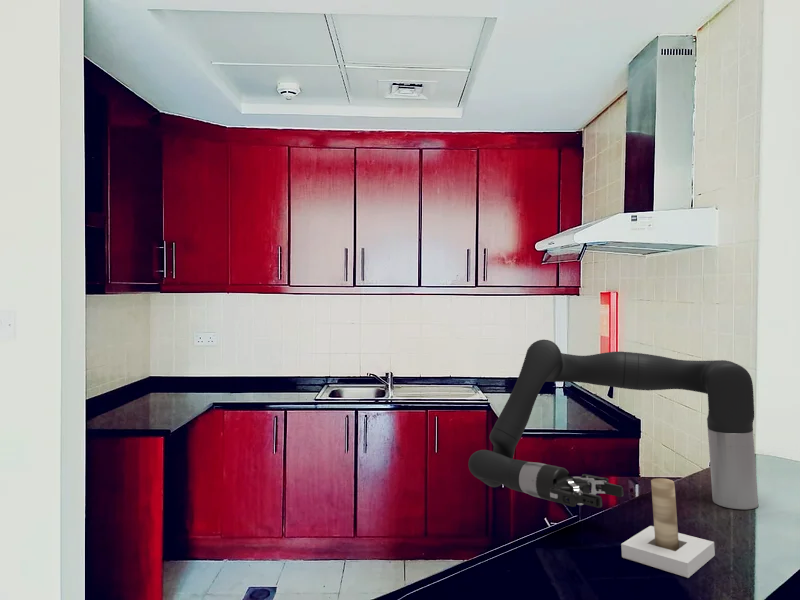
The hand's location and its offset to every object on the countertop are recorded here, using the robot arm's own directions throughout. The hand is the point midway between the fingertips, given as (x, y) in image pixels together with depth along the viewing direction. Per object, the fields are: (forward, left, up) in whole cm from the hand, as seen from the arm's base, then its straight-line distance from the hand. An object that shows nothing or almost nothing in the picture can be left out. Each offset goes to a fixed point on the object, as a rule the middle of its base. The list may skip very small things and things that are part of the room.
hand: (612, 497), depth 112 cm
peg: (0, +11, -9) cm, 14 cm away
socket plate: (0, +11, -9) cm, 14 cm away
